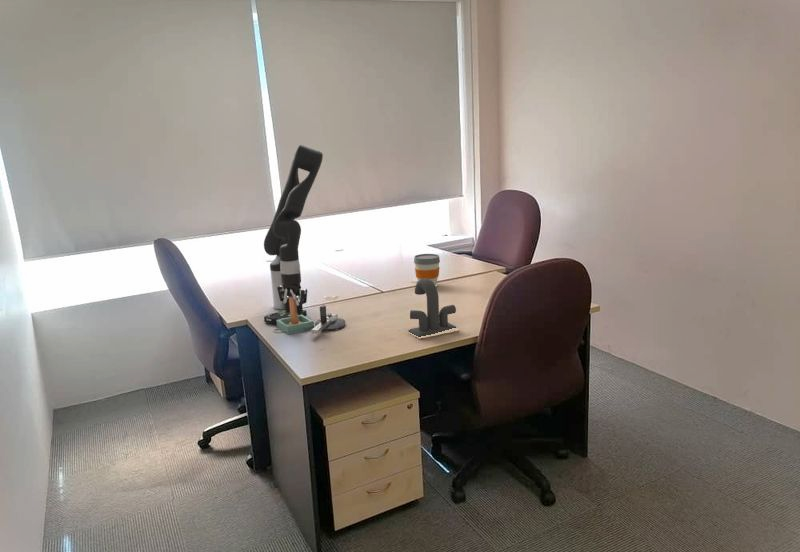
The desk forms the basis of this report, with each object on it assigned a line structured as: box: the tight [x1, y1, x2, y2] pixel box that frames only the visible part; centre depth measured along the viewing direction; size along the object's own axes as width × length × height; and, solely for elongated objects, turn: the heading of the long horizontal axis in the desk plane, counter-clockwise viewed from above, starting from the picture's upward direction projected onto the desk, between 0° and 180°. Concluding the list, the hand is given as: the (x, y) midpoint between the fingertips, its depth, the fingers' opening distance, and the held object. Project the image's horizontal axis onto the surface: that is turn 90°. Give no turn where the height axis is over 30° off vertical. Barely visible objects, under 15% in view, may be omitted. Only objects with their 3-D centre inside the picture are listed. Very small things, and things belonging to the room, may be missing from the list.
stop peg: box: [289, 296, 301, 326], centre depth 229 cm, size 4×4×12 cm
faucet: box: [407, 278, 457, 337], centre depth 220 cm, size 18×16×20 cm
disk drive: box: [263, 309, 308, 326], centre depth 240 cm, size 10×3×15 cm
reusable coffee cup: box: [413, 253, 441, 285], centre depth 283 cm, size 12×13×15 cm
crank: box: [310, 304, 339, 335], centre depth 225 cm, size 20×5×8 cm, turn 164°
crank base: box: [314, 317, 347, 332], centre depth 231 cm, size 12×12×2 cm
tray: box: [276, 315, 315, 335], centre depth 230 cm, size 11×11×3 cm
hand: (294, 312), depth 229 cm, fingers open, 5 cm apart
